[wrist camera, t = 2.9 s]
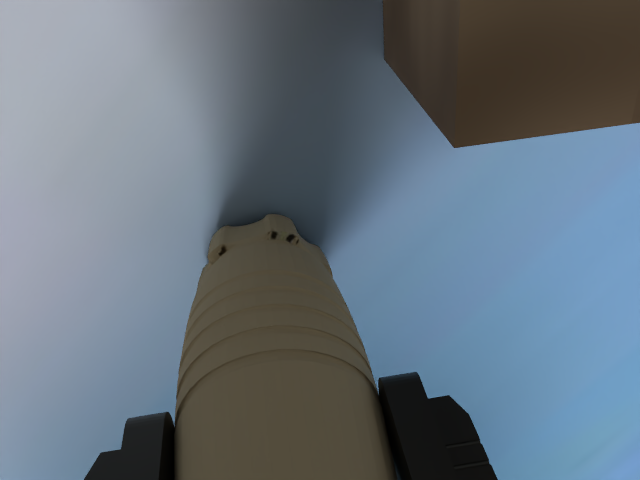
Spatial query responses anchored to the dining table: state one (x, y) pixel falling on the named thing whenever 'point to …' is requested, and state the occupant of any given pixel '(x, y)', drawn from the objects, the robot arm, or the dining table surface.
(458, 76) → the walnut sleeve
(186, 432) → the handle
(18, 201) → the dining table surface
